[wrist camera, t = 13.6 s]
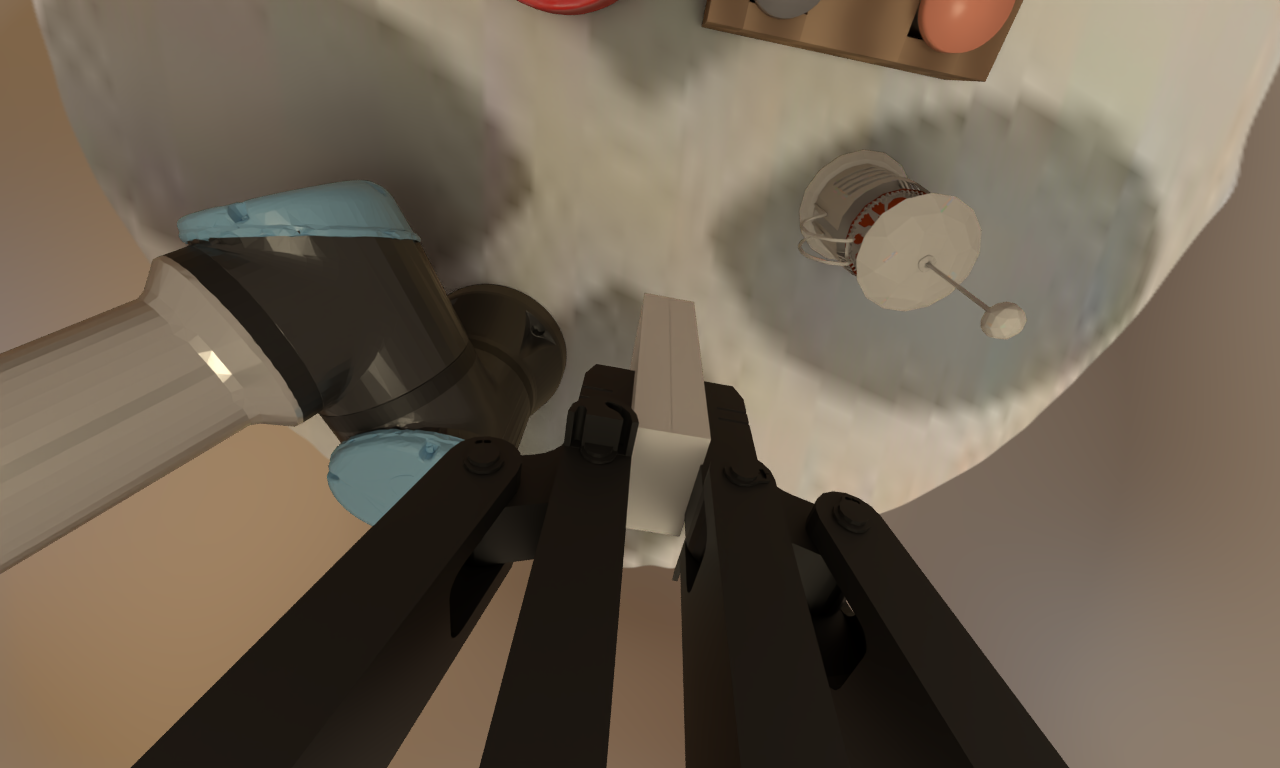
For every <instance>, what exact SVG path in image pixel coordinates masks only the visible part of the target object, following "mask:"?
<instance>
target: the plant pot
mask: <svg viewBox="0 0 1280 768" xmlns="http://www.w3.org/2000/svg"><path fill="white" fill-rule="evenodd" d="M517 1H519V2H521V3H523V4H526V5H528V6H530V7H533V8H535V9H538V10H541V11H545V12H548V13H553V14H562V15H579V14H585V13H589V12H593V11H597V10H600V9H602V8H605V7H608V6H609V5H611V4H613V3H615V2H616V1H618V0H517Z"/></svg>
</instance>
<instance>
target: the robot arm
mask: <svg viewBox="0 0 1280 768" xmlns="http://www.w3.org/2000/svg"><path fill="white" fill-rule="evenodd" d="M177 227H178V229H179V238H180V239H181V240H182V242H185V243H186V244H189V245H188V246H187V247H184V248H182V249H179V250H176V251H173V252H171V253H168V254H165V255H163V256H159V257H157V258H155V259H153V261H152V264H151V268H150V271H149V275H148V278H147V281H146V285H145V288H144V291H143V293H142V294H141V295H140V296H139V298H138V299H136V300H133V301H131V302H128V303H126V304H123V305H121V306H118V307H116V308H113V309H111V310H108V311H106V312H103V313H101V314H98V315H96V316H93V317H91V318H88V319H86V320H83V321H81V322H79V323H76V324H73V325H71V326H68V327H66V328H63V329H61V330H59V331H56V332H53V333H51V334H48V335H46V336H44V337H41V338H39V339H36V340H33V341H31V342H29V343H26V344H24V345H21V346H19V347H16V348H14V349H11V350H9V351H6V352H4V353H1V354H0V574H1V573H3V572H5V571H6V570H8V569H10V568H11V567H13V566H15V565H16V564H18V563H20V562H21V561H23V560H25V559H27V558H28V557H30V556H31V555H33V554H35V553H37V552H38V551H40V550H42V549H43V548H45V547H47V546H48V545H50V544H51V543H53V542H55V541H57V540H58V539H60V538H62V537H63V536H65V535H67V534H68V533H70V532H72V531H73V530H75V529H77V528H78V527H80V526H82V525H83V524H85V523H86V522H88V521H90V520H92V519H93V518H95V517H97V516H98V515H100V514H102V513H103V512H105V511H107V510H108V509H110V508H112V507H113V506H115V505H117V504H118V503H120V502H122V501H123V500H125V499H127V498H129V497H130V496H132V495H133V494H135V493H137V492H139V491H140V490H142V489H144V488H145V487H147V486H149V485H150V484H152V483H153V482H155V481H157V480H158V479H160V478H162V477H164V476H165V475H167V474H169V473H170V472H172V471H174V470H175V469H177V468H179V467H180V466H182V465H184V464H185V463H187V462H189V461H190V460H192V459H194V458H195V457H197V456H199V455H200V454H202V453H204V452H205V451H207V450H209V449H210V448H212V447H214V446H215V445H217V444H219V443H220V442H222V441H224V440H225V439H227V438H229V437H230V436H232V435H234V434H235V433H237V432H239V431H240V430H242V429H244V428H245V427H247V426H249V425H253V424H260V423H261V424H273V425H283V426H294V427H295V426H297V425H299V424H301V423H303V422H305V421H306V420H308V419H309V418H311V417H313V416H314V415H316V414H317V413H319V414H320V416H321V417H322V418H323V419H324V421H325V422H326V423H327V425H328V426H329V427H330V429H331V430H332V431H333V433H334V434H335V435H336V437H337V438H338V439H339V441H340V443H341V444H340V445H339V446H337V447H336V449H335V450H334V451H333V453H332V454H331V458H330V463H329V472H328V475H327V479H328V485H329V487H330V490H331V491H332V493H333V495H334V497H335V498H336V499H337V501H338V502H339V503H340V504H341V505H342V506H343V507H344V508H345V509H346V510H348V511H349V512H350V513H351V514H352V515H354V516H355V517H357V518H358V519H360V520H362V521H364V522H365V523H367V524H369V525H371V526H372V528H371V529H370V530H368V531H367V532H366V533H365V534H364V535H363V537H361V539H360V540H358V541H357V543H355V545H353V546H352V547H351V549H350V550H349V551H348V552H346V553H345V555H344V556H342V558H340V559H339V560H338V561H337V562H336V563H335V564H334V565H333V567H332V568H330V569H329V570H328V571H327V572H326V573H325V575H323V577H322V578H320V579H319V581H317V582H316V583H315V584H314V585H313V586H312V588H310V590H308V591H307V592H306V593H305V594H304V595H303V597H301V598H300V599H299V600H298V601H297V602H296V604H294V605H293V606H292V607H291V608H290V609H289V610H288V611H287V613H286V614H284V615H283V616H282V617H281V618H280V619H279V620H278V621H277V622H276V623H275V624H274V625H273V626H272V627H271V628H270V629H269V630H268V631H267V632H266V633H265V634H264V635H263V636H262V637H261V638H260V639H259V640H258V641H257V642H256V643H255V644H254V645H253V646H252V647H251V648H250V649H249V650H248V651H247V652H246V653H245V654H244V655H243V656H242V657H241V658H240V659H239V660H238V661H237V662H236V663H235V664H234V665H233V666H232V667H231V668H230V669H229V670H228V671H227V672H226V673H225V674H224V675H223V676H222V677H221V678H220V679H219V680H218V681H217V682H216V683H215V684H214V685H213V686H212V687H211V688H210V689H209V690H208V691H207V692H206V693H205V694H204V695H203V696H202V697H201V698H200V699H199V700H198V701H197V702H196V703H195V704H194V705H193V706H192V707H191V708H190V709H189V710H188V711H187V712H186V713H185V714H184V715H183V716H182V717H181V718H180V719H179V720H178V721H177V722H176V723H175V724H174V725H173V726H172V727H171V728H170V729H169V730H168V731H167V732H166V733H165V734H164V735H163V736H162V737H161V738H160V739H159V740H158V741H157V742H156V743H155V744H154V745H153V746H152V747H151V748H150V749H149V750H148V751H147V752H146V753H145V754H144V755H143V756H142V757H141V758H140V759H139V760H138V761H137V762H136V763H135V764H134V765H133V766H132V767H131V768H387V767H388V765H389V764H390V762H391V760H392V759H393V757H394V756H395V754H396V752H397V751H398V749H399V747H400V746H401V744H402V743H403V741H404V739H405V738H406V736H407V735H408V733H409V731H410V730H411V728H412V727H413V725H414V723H415V722H416V720H417V718H418V717H419V715H420V713H421V712H422V710H423V709H424V707H425V706H426V704H427V702H428V701H429V699H430V698H431V696H432V694H433V693H434V691H435V690H436V688H437V686H438V685H439V683H440V681H441V680H442V678H443V676H444V675H445V673H446V672H447V670H448V669H449V667H450V665H451V664H452V662H453V661H454V659H455V657H456V656H457V654H458V652H459V651H460V649H461V647H462V646H463V644H464V643H465V641H466V639H467V638H468V636H469V635H470V633H471V632H472V630H473V628H474V627H475V625H476V623H477V622H478V620H479V619H480V617H481V615H482V614H483V612H484V610H485V609H486V607H487V606H488V604H489V603H490V601H491V599H492V598H493V596H494V594H495V593H496V591H497V590H498V588H499V587H500V585H501V583H502V582H503V580H504V578H505V577H506V575H507V574H508V572H509V570H510V569H511V567H512V564H513V562H516V561H523V560H530V559H534V561H533V565H532V569H531V572H530V577H529V580H528V584H527V588H526V591H525V595H524V599H523V603H522V607H521V610H520V614H519V618H518V622H517V626H516V630H515V633H514V637H513V641H512V645H511V649H510V653H509V656H508V660H507V664H506V668H505V672H504V675H503V679H502V683H501V687H500V691H499V695H498V698H497V702H496V706H495V710H494V714H493V717H492V721H491V725H490V729H489V733H488V736H487V740H486V744H485V748H484V752H483V755H482V759H481V763H480V767H479V768H606V766H607V754H608V741H609V728H610V717H611V716H610V715H611V705H612V692H613V679H614V667H615V655H616V643H617V630H618V618H619V606H620V592H621V581H622V569H623V557H624V544H625V532H626V528H629V529H635V530H641V531H648V532H654V533H661V534H667V535H673V536H680V534H681V531H682V528H683V524H684V521H685V536H686V538H685V541H684V544H683V547H682V550H681V553H680V556H679V559H678V562H677V565H676V568H675V571H674V575H673V580H674V581H678V578H679V575H681V613H682V649H683V683H684V684H683V687H684V724H685V756H686V757H685V761H686V768H1069V767H1068V766H1067V764H1066V763H1065V762H1064V760H1063V759H1062V758H1061V756H1060V755H1059V754H1058V752H1057V751H1056V750H1055V748H1054V747H1053V746H1052V744H1051V743H1050V742H1049V741H1048V739H1047V738H1046V736H1045V735H1044V734H1043V732H1042V731H1041V730H1040V728H1039V727H1038V726H1037V724H1036V723H1035V722H1034V720H1033V719H1032V718H1031V716H1030V715H1029V714H1028V712H1027V711H1026V709H1025V708H1024V707H1023V706H1022V704H1021V703H1020V702H1019V700H1018V699H1017V698H1016V696H1015V695H1014V694H1013V692H1012V691H1011V689H1010V688H1009V687H1008V685H1007V684H1006V683H1005V681H1004V680H1003V679H1002V677H1001V676H1000V675H999V674H998V672H997V671H996V669H995V668H994V667H993V666H992V664H991V663H990V661H989V660H988V659H987V657H986V656H985V655H984V653H983V652H982V651H981V649H980V648H979V647H978V645H977V644H976V643H975V641H974V640H973V639H972V637H971V636H970V635H969V633H968V632H967V631H966V629H965V628H964V627H963V625H962V624H961V623H960V622H959V620H958V619H957V617H956V616H955V615H954V613H953V612H952V611H951V610H950V608H949V607H948V606H947V604H946V603H945V601H944V600H943V599H942V597H941V596H940V595H939V593H938V592H937V591H936V589H935V588H934V587H933V585H932V584H931V583H930V581H929V580H928V579H927V577H926V576H925V575H924V573H923V572H922V571H921V569H920V568H919V567H918V565H917V564H916V563H915V561H914V560H913V559H912V557H911V556H910V555H909V553H908V552H907V551H906V549H905V548H904V547H903V545H902V544H901V543H900V541H899V540H898V539H897V537H896V536H895V535H894V533H893V532H892V531H891V529H890V528H889V527H888V525H887V524H886V523H885V521H884V520H883V519H882V517H881V516H880V515H879V514H878V513H877V512H876V511H875V510H874V509H873V508H872V507H871V506H870V505H868V504H867V503H865V502H864V501H862V500H861V499H859V498H857V497H854V496H852V495H849V494H847V493H841V492H834V491H833V492H828V493H823V494H822V495H821V496H820V497H819V498H818V499H817V500H816V502H815V504H813V503H811V502H808V501H806V500H803V499H801V498H798V497H796V496H793V495H791V494H789V493H787V492H785V491H783V490H781V489H780V488H778V487H777V485H776V481H775V479H774V477H773V475H772V473H771V471H770V470H769V469H768V468H767V467H766V466H765V465H764V464H763V463H761V462H760V461H758V460H757V456H756V451H755V447H754V443H753V439H752V434H751V430H750V426H749V425H748V424H749V421H748V417H747V414H746V409H745V404H744V400H743V398H742V397H741V396H740V395H739V393H738V392H737V391H736V390H735V389H734V387H733V386H727V385H721V384H716V383H710V382H704V379H703V371H702V363H701V354H700V346H699V338H698V330H697V322H696V314H695V306H694V302H691V301H685V300H680V299H674V298H669V297H664V296H658V295H653V294H647V293H645V294H644V299H643V304H642V309H641V315H640V320H639V325H638V330H637V335H636V340H635V345H634V351H633V356H632V361H631V366H630V370H627V369H622V368H616V367H610V366H605V365H599V364H596V365H595V366H593V367H592V368H591V369H590V370H589V371H587V372H586V373H585V377H584V381H583V385H582V388H581V392H580V397H579V400H578V401H577V402H575V403H573V404H572V406H571V407H570V409H569V410H568V415H567V423H566V431H565V439H564V443H563V444H562V445H561V446H560V447H558V448H556V449H555V450H552V451H549V452H546V453H542V454H535V455H520V452H519V451H518V447H519V444H520V442H521V439H522V436H523V433H524V430H525V428H526V425H527V422H528V419H529V417H530V416H531V415H532V414H533V413H535V412H536V411H537V410H538V409H539V408H540V407H541V406H543V405H544V404H545V403H546V402H547V401H548V400H549V399H550V398H551V397H552V396H553V395H554V393H555V392H556V390H557V388H558V387H559V384H560V382H561V379H562V376H563V373H564V370H565V366H566V346H565V342H564V338H563V336H562V333H561V331H560V329H559V327H558V325H557V324H556V322H555V321H554V319H553V318H552V316H551V315H550V314H549V313H548V312H547V311H546V310H545V309H544V308H543V307H542V306H541V305H540V304H538V303H537V302H536V301H535V300H533V299H532V298H530V297H528V296H527V295H525V294H523V293H521V292H519V291H516V290H514V289H511V288H507V287H504V286H499V285H490V284H481V285H472V286H468V287H464V288H461V289H459V290H457V291H455V292H453V293H451V294H450V295H448V296H447V294H446V292H445V290H444V288H443V286H442V285H441V283H440V281H439V279H438V277H437V275H436V273H435V271H434V269H433V267H432V265H431V263H430V261H429V260H428V258H427V256H426V254H425V252H424V250H423V248H422V246H421V244H420V242H421V239H420V237H419V236H418V235H417V234H416V233H414V232H413V231H412V229H411V227H410V226H409V224H408V222H407V221H406V219H405V217H404V215H403V214H402V212H401V210H400V209H399V207H398V205H397V203H396V202H395V200H394V198H393V197H392V195H391V194H390V193H389V192H388V191H387V190H386V189H385V188H383V187H382V186H380V185H378V184H376V183H373V182H371V181H366V180H351V181H343V182H335V183H329V184H323V185H317V186H312V187H306V188H301V189H296V190H291V191H286V192H281V193H276V194H271V195H267V196H262V197H258V198H254V199H249V200H246V201H244V202H237V203H233V204H229V205H226V206H220V207H214V208H210V209H206V210H202V211H198V212H195V213H192V214H188V215H186V216H183V217H182V218H180V219H179V220H178V222H177ZM846 600H847V601H848V603H849V605H850V606H851V608H852V610H853V611H852V610H851V609H850V607H849V606H848V604H847V602H846Z"/></svg>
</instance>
